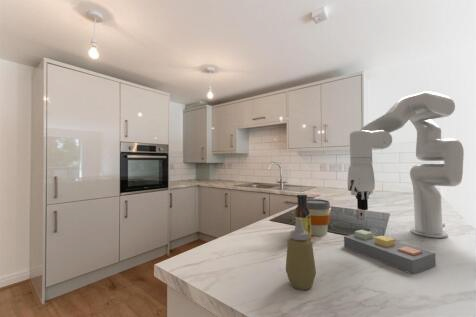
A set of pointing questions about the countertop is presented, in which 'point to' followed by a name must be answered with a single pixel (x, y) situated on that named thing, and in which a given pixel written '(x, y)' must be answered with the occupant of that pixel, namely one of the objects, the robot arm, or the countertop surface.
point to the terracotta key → (410, 251)
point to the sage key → (363, 234)
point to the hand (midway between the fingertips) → (362, 209)
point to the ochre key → (384, 241)
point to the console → (392, 254)
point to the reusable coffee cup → (319, 216)
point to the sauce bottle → (303, 213)
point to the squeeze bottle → (300, 258)
